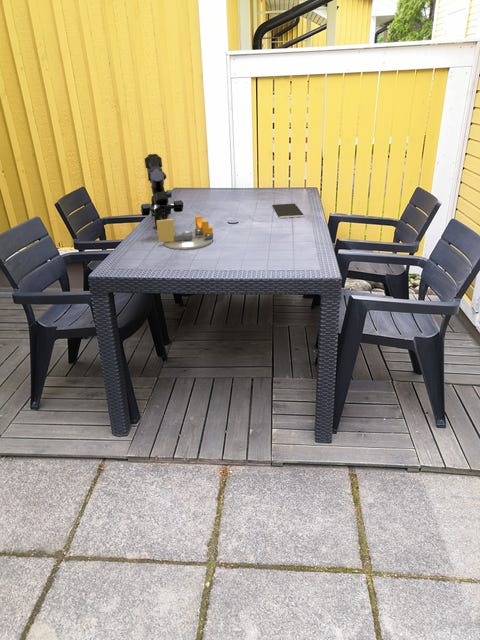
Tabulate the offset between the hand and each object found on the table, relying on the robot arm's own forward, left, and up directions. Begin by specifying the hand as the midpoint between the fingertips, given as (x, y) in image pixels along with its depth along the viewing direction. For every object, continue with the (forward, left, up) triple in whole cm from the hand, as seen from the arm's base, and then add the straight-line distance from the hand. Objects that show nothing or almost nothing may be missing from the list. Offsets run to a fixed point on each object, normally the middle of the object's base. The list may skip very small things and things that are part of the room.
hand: (165, 224), depth 213 cm
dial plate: (-1, +10, -8) cm, 13 cm away
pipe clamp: (-18, +11, -8) cm, 23 cm away
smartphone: (-62, +42, -9) cm, 75 cm away
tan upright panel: (+2, +5, -6) cm, 9 cm away
